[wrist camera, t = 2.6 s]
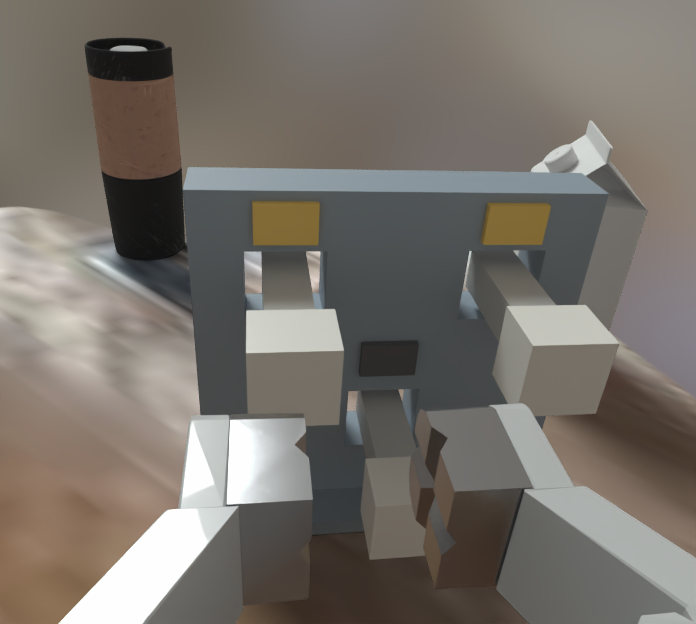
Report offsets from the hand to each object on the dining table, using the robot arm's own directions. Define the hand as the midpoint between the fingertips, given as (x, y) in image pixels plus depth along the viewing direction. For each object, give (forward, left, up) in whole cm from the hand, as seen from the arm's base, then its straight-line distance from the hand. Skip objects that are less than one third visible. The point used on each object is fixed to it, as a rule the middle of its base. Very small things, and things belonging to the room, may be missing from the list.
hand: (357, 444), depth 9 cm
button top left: (0, +18, -11) cm, 21 cm away
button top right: (+11, +18, -11) cm, 23 cm away
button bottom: (+5, +18, -19) cm, 27 cm away
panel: (+5, +22, -24) cm, 33 cm away
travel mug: (-13, +57, -24) cm, 63 cm away
